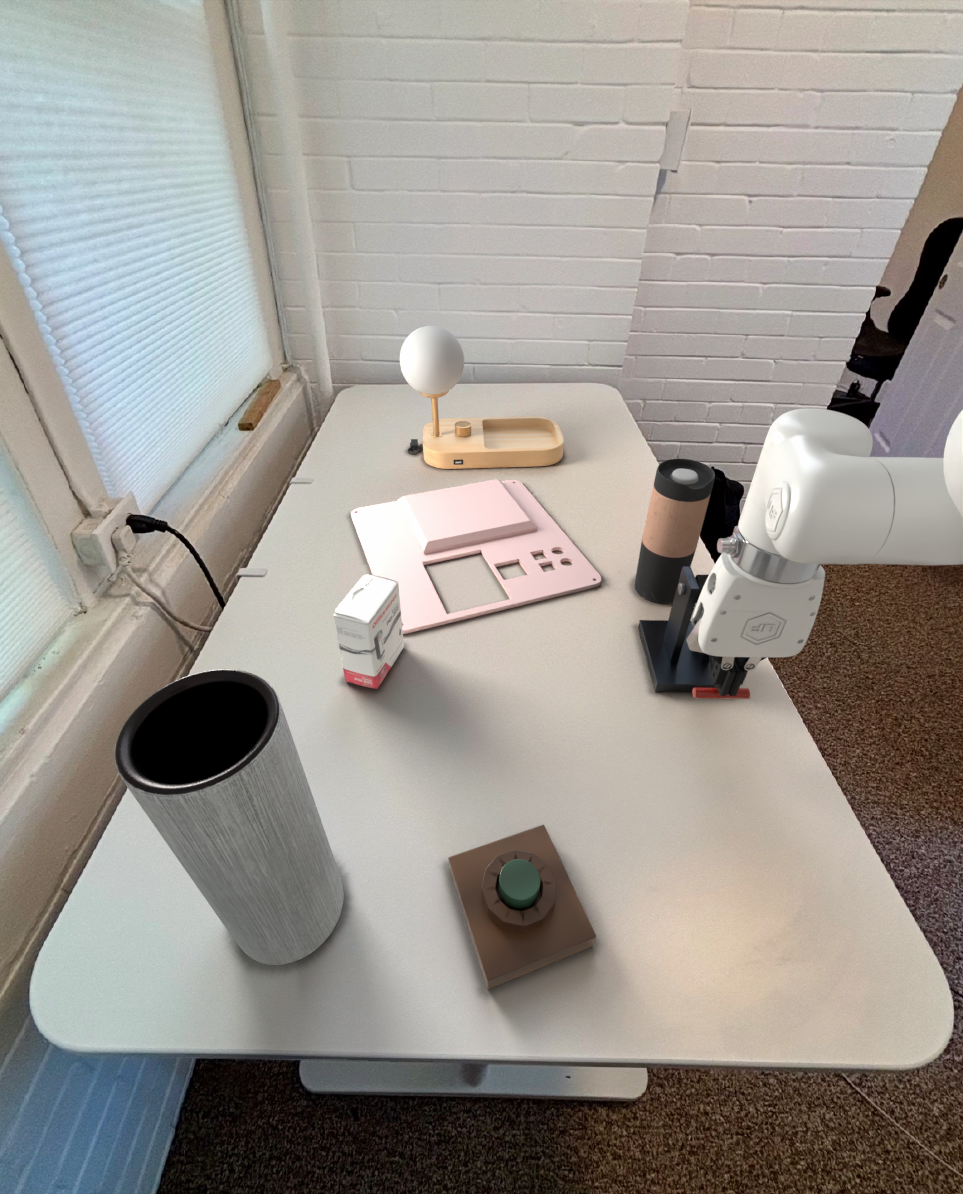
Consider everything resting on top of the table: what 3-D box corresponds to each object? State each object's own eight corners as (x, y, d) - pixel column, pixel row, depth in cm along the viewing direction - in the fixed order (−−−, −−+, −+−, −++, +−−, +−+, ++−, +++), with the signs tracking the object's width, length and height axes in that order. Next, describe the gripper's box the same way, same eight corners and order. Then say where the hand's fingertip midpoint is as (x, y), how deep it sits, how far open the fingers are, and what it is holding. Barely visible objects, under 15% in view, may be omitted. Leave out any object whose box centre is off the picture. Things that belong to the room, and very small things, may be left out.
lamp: (554, 431, 135) (563, 312, 118) (566, 466, 121) (578, 338, 105) (409, 434, 134) (398, 315, 117) (405, 471, 120) (392, 341, 104)
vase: (347, 848, 59) (289, 660, 42) (341, 958, 52) (267, 784, 34) (244, 860, 58) (142, 673, 41) (223, 974, 51) (85, 803, 33)
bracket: (734, 693, 74) (767, 611, 66) (654, 691, 75) (677, 610, 66) (708, 628, 84) (734, 548, 75) (637, 627, 84) (655, 548, 75)
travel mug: (644, 567, 95) (669, 453, 82) (691, 585, 91) (724, 467, 78) (624, 592, 90) (646, 474, 77) (672, 611, 87) (704, 491, 74)
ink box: (379, 692, 75) (367, 622, 67) (344, 682, 76) (328, 613, 69) (407, 646, 81) (399, 578, 74) (374, 638, 82) (363, 570, 75)
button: (545, 900, 52) (547, 891, 51) (507, 915, 51) (508, 906, 50) (529, 862, 54) (530, 853, 53) (493, 875, 53) (493, 866, 52)
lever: (744, 701, 67) (753, 695, 64) (691, 700, 67) (698, 694, 65) (723, 583, 73) (731, 574, 71) (675, 583, 73) (680, 574, 71)
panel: (349, 512, 108) (347, 501, 107) (517, 481, 117) (518, 470, 115) (394, 636, 83) (393, 624, 81) (604, 584, 91) (606, 572, 90)
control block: (593, 946, 52) (599, 927, 50) (487, 990, 50) (487, 973, 47) (542, 835, 60) (545, 814, 58) (448, 867, 58) (447, 847, 55)
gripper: (703, 575, 51) (662, 712, 62) (880, 577, 50) (805, 714, 62) (682, 527, 56) (649, 660, 68) (841, 528, 56) (779, 662, 68)
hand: (723, 686), depth 65 cm, fingers closed
